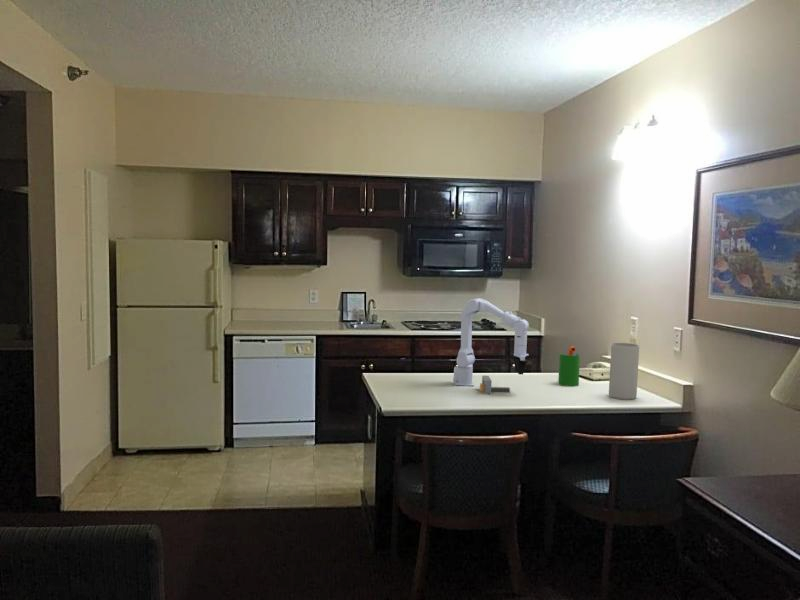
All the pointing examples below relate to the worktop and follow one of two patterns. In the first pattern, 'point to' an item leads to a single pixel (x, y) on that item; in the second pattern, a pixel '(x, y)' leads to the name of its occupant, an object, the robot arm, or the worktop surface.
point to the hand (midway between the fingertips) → (519, 372)
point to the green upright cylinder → (569, 368)
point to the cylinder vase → (623, 371)
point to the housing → (487, 384)
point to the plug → (495, 389)
